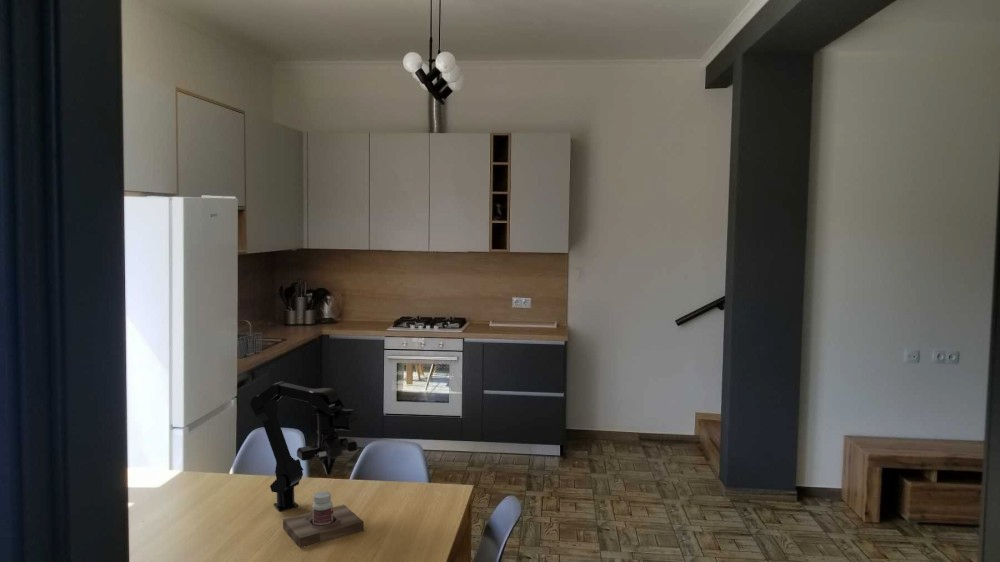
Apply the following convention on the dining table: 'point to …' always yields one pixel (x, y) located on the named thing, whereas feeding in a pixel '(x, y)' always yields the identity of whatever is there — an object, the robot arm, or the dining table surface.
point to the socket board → (322, 527)
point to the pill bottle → (322, 509)
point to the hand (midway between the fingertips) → (328, 474)
